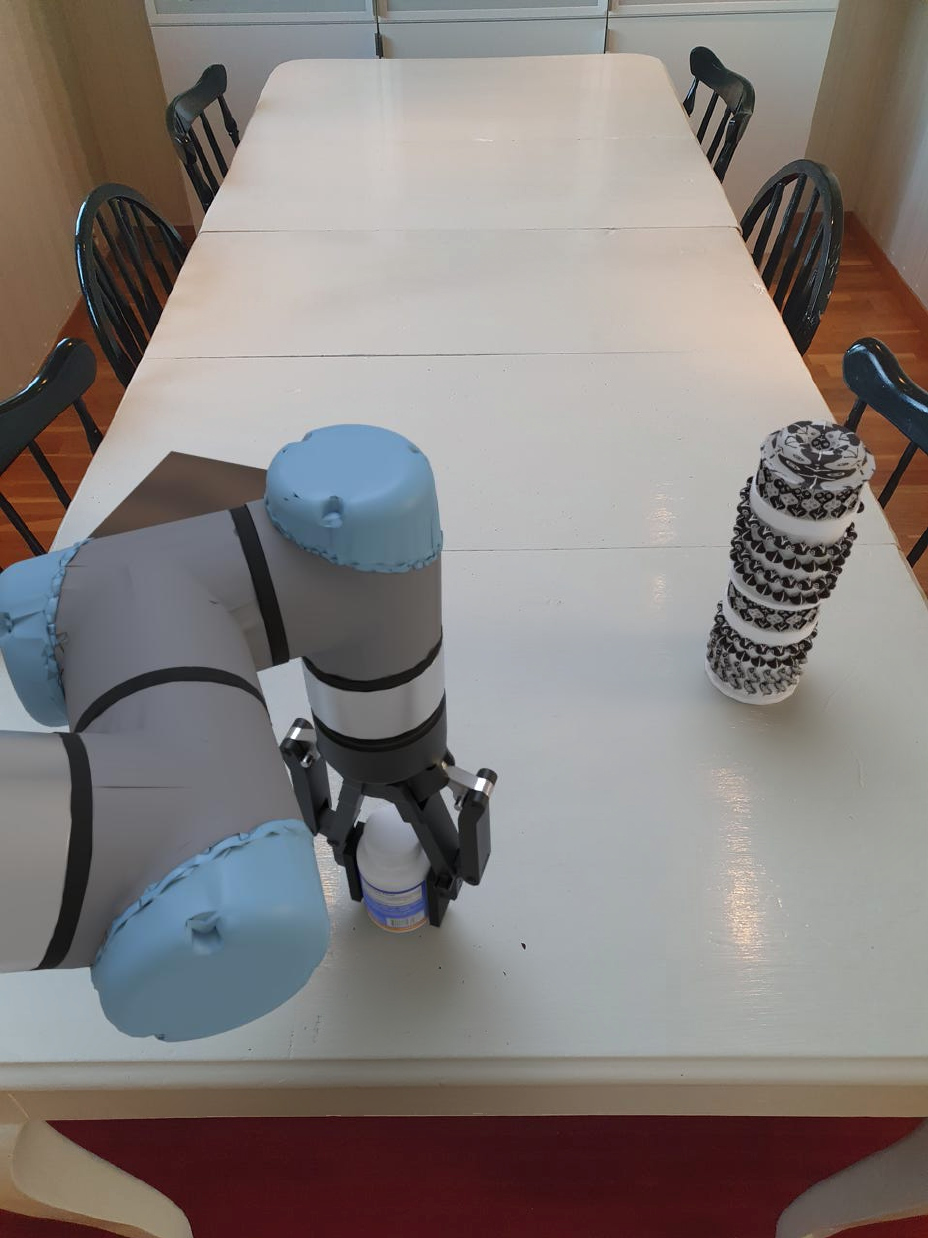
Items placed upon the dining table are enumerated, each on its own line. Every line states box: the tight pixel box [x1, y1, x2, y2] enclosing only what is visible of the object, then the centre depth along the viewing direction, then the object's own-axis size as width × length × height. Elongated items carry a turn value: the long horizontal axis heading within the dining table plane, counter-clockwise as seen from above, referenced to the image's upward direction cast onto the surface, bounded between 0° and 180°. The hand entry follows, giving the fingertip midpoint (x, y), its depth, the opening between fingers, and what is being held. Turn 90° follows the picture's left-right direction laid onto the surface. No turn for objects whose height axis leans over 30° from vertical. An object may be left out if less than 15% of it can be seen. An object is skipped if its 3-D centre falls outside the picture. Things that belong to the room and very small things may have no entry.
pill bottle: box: [357, 803, 432, 933], centre depth 63 cm, size 5×5×10 cm
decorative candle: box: [704, 419, 877, 706], centre depth 74 cm, size 9×9×25 cm
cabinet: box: [85, 450, 268, 539], centre depth 90 cm, size 15×13×10 cm
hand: (401, 897), depth 66 cm, fingers closed on pill bottle, 5 cm apart
